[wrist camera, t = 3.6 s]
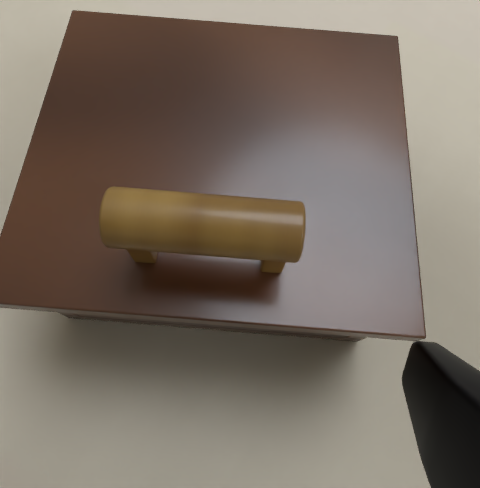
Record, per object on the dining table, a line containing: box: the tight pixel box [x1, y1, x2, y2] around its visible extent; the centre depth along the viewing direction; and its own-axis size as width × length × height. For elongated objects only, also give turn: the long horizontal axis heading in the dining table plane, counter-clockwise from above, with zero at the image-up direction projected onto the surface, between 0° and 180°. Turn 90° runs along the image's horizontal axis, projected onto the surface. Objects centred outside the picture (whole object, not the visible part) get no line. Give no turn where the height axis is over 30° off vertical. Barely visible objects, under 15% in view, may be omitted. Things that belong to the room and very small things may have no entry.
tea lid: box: [0, 10, 426, 341], centre depth 13 cm, size 12×14×4 cm
